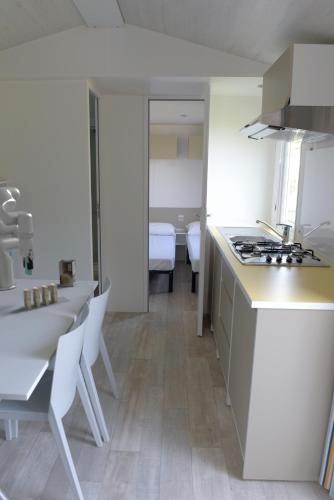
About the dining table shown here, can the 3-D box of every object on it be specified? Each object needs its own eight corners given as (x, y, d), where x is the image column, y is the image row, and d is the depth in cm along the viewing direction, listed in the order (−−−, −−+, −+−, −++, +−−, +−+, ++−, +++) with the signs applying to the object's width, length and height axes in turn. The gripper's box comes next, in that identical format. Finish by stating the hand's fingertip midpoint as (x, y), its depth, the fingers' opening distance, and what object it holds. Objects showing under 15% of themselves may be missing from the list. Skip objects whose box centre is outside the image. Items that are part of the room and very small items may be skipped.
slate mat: (19, 307, 204) (19, 306, 204) (63, 297, 221) (63, 296, 221) (25, 312, 197) (25, 311, 197) (71, 301, 214) (71, 300, 214)
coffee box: (76, 283, 246) (75, 259, 243) (73, 286, 240) (72, 262, 236) (63, 283, 247) (62, 259, 243) (59, 286, 241) (58, 261, 237)
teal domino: (25, 273, 210) (24, 255, 208) (28, 272, 212) (27, 255, 209) (28, 275, 207) (27, 257, 205) (32, 274, 208) (30, 257, 206)
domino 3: (42, 302, 210) (41, 285, 208) (45, 302, 211) (44, 285, 209) (46, 305, 207) (45, 287, 204) (49, 304, 208) (48, 287, 206)
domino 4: (50, 300, 213) (49, 283, 211) (53, 300, 215) (52, 283, 212) (54, 303, 210) (53, 286, 208) (57, 302, 211) (56, 285, 209)
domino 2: (33, 304, 207) (32, 287, 205) (36, 304, 208) (35, 286, 206) (37, 307, 203) (36, 289, 201) (40, 306, 204) (39, 289, 202)
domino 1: (24, 307, 204) (23, 289, 201) (27, 306, 205) (26, 288, 203) (28, 309, 200) (26, 291, 198) (31, 308, 201) (30, 291, 199)
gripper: (13, 234, 209) (16, 266, 212) (24, 238, 196) (27, 272, 200) (27, 233, 213) (29, 264, 217) (39, 237, 201) (41, 270, 204)
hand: (28, 268), depth 208 cm, fingers closed on teal domino, 4 cm apart
